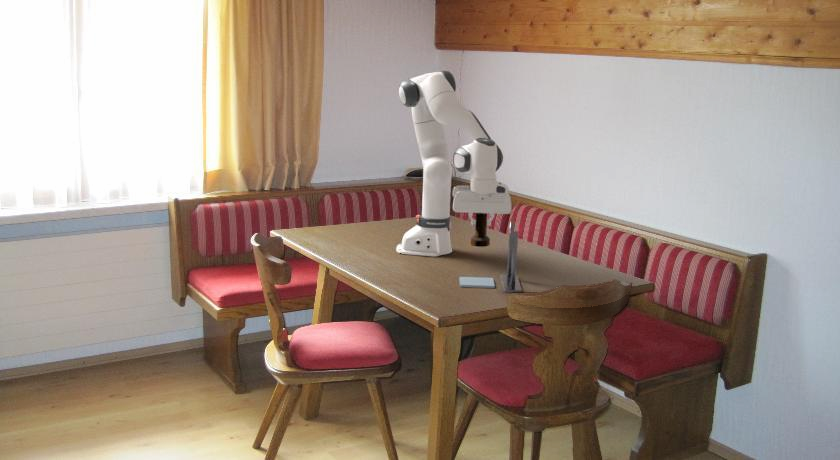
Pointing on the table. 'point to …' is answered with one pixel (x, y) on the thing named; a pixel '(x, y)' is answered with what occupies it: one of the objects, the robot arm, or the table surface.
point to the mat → (476, 282)
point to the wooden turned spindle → (480, 231)
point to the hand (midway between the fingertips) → (481, 225)
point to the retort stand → (511, 264)
